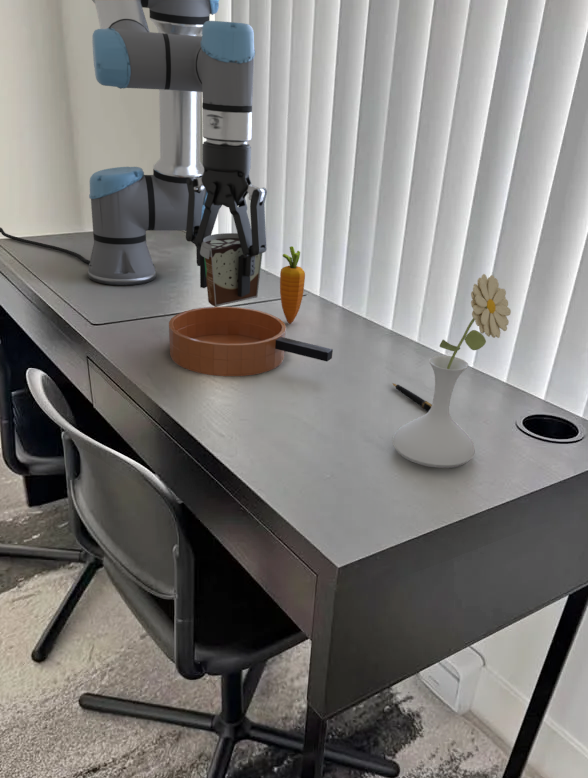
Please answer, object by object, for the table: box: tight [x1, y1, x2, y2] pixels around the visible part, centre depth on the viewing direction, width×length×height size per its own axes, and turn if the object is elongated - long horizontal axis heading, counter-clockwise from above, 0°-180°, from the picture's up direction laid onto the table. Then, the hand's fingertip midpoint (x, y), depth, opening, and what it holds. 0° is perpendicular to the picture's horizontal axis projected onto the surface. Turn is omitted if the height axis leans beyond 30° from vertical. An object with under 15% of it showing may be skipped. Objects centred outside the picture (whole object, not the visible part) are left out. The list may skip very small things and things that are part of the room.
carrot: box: [279, 246, 306, 324], centre depth 139 cm, size 5×5×15 cm
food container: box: [200, 232, 263, 307], centre depth 118 cm, size 12×6×10 cm, turn 135°
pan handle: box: [275, 337, 334, 362], centre depth 118 cm, size 10×2×2 cm, turn 62°
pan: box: [168, 306, 287, 377], centre depth 125 cm, size 20×20×6 cm
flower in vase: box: [391, 273, 512, 469], centre depth 92 cm, size 13×11×25 cm
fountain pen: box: [392, 382, 432, 413], centre depth 112 cm, size 14×1×2 cm, turn 28°
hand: (224, 290), depth 120 cm, fingers closed on food container, 7 cm apart
